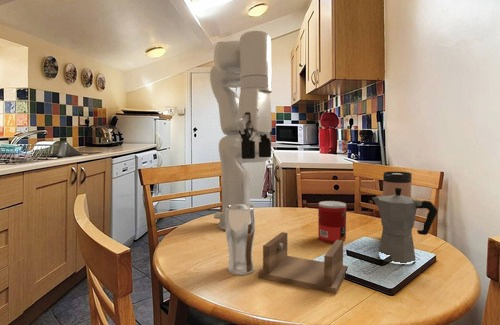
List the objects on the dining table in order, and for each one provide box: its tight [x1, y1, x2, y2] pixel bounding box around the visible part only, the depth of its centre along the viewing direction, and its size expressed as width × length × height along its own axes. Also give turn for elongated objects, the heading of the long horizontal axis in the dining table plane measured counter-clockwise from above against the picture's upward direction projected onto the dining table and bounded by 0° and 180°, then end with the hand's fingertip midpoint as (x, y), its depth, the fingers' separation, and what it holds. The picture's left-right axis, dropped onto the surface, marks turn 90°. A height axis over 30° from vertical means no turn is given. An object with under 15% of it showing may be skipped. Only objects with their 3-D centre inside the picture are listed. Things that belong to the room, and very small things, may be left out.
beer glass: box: [224, 203, 256, 276], centre depth 74 cm, size 7×7×15 cm
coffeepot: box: [371, 188, 438, 263], centre depth 79 cm, size 15×9×18 cm, turn 43°
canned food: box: [317, 200, 347, 244], centre depth 95 cm, size 8×8×11 cm
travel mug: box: [382, 171, 413, 198], centre depth 94 cm, size 8×8×20 cm
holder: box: [257, 231, 349, 295], centre depth 71 cm, size 17×12×7 cm
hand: (257, 157), depth 77 cm, fingers open, 9 cm apart
